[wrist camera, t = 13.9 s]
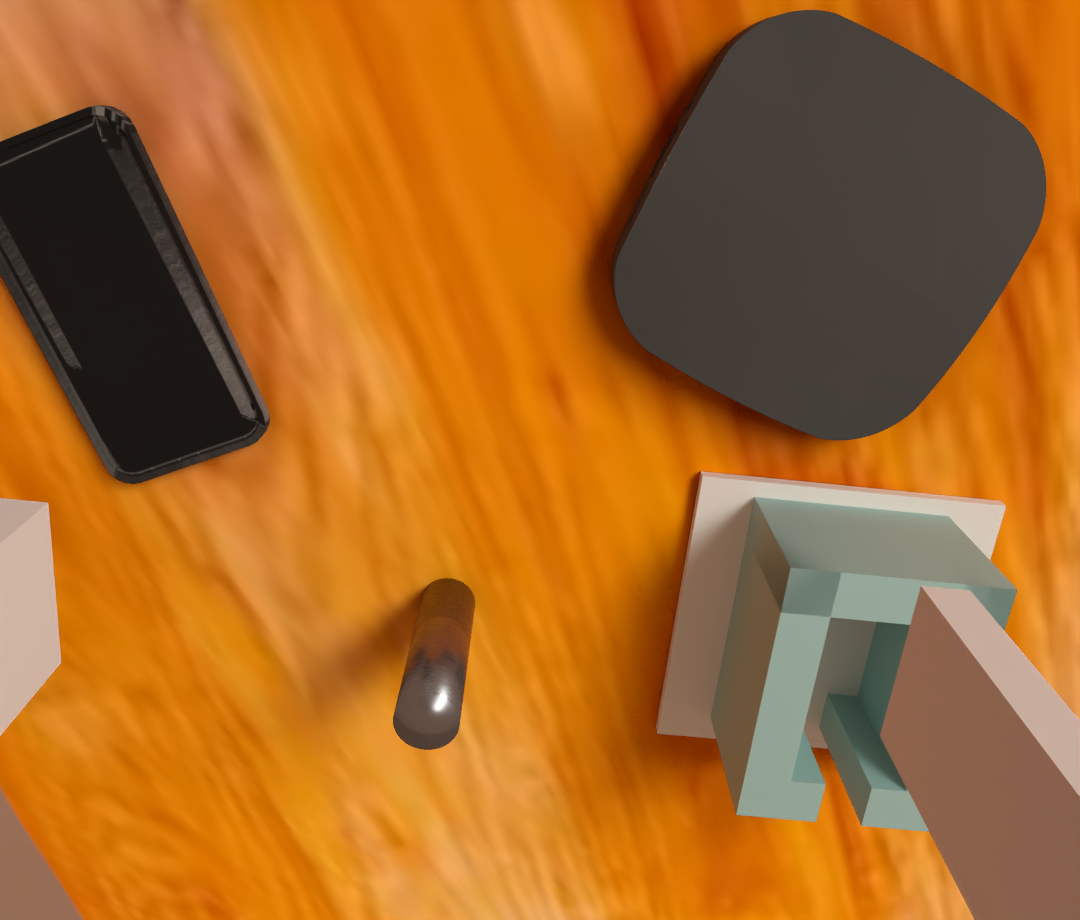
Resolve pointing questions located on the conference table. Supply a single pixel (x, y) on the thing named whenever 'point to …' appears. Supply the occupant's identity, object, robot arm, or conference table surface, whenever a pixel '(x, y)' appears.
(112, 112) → the phone
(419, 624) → the grey cylinder
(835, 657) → the mat
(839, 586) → the green u-shaped block
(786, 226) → the media streaming box
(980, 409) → the conference table surface
